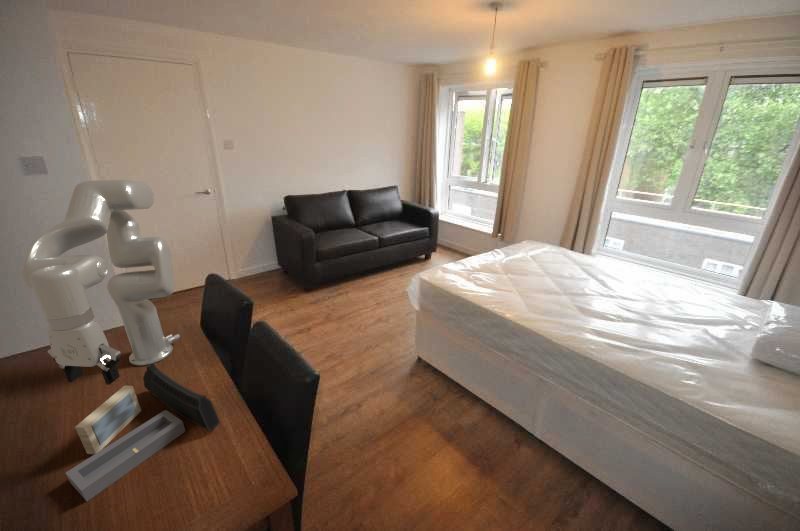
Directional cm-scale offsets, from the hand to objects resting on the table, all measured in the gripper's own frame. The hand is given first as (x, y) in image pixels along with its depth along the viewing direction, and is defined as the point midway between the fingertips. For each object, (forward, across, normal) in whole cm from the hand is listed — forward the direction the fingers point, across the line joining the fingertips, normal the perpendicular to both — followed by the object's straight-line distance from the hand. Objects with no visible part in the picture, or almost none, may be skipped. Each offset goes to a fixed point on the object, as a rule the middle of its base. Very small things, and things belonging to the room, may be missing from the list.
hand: (94, 379), depth 82 cm
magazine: (+18, +12, +9) cm, 23 cm away
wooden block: (+18, 0, +1) cm, 18 cm away
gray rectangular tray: (+18, +10, -6) cm, 21 cm away
